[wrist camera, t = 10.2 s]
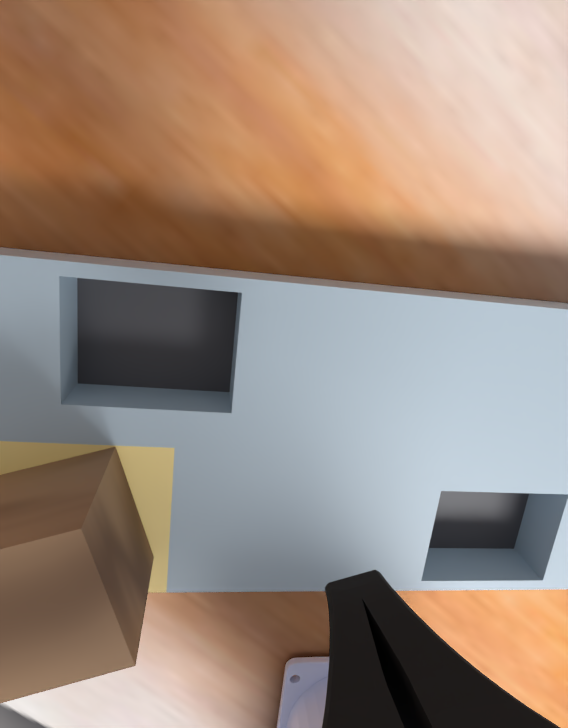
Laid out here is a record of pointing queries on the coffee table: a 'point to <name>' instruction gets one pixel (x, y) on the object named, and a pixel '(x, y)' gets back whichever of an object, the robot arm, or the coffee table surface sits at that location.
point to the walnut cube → (69, 573)
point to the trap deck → (298, 420)
